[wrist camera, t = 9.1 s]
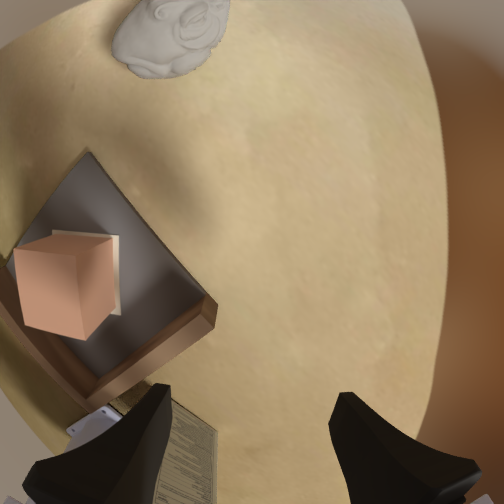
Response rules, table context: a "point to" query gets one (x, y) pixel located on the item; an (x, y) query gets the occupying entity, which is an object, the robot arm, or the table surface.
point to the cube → (66, 283)
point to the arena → (126, 294)
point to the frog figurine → (169, 36)
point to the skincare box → (188, 462)
